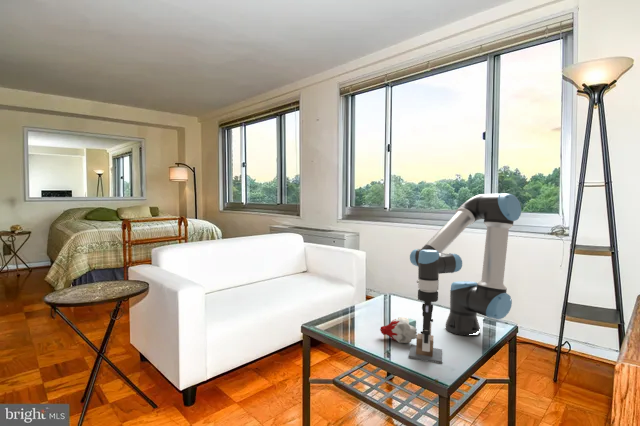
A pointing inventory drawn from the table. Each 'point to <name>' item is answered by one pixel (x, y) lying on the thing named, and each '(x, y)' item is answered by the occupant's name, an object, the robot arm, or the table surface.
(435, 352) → the mat
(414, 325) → the teal block
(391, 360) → the table surface
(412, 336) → the white two-tone toothed figurine
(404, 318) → the cream capsule cylinder
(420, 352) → the walnut cube
